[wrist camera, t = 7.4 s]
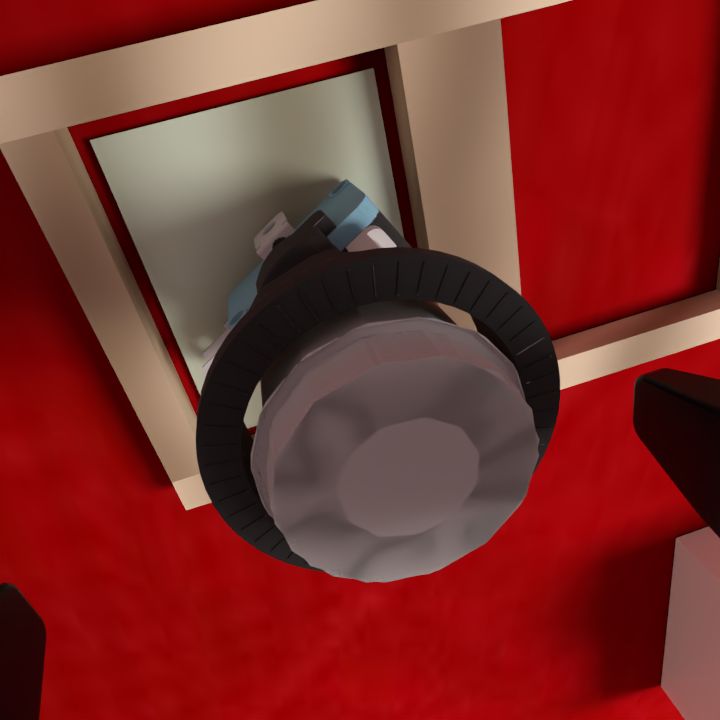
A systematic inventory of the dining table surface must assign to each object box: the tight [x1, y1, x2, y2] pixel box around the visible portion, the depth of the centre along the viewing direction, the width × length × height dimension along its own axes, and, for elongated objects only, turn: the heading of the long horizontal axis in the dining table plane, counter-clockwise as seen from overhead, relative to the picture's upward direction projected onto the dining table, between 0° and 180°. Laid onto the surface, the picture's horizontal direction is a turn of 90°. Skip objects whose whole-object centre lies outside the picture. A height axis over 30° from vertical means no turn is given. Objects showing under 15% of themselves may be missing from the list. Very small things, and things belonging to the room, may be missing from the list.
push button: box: [196, 179, 560, 582], centre depth 11 cm, size 7×5×10 cm
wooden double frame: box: [0, 0, 720, 510], centre depth 16 cm, size 21×12×1 cm, turn 102°
